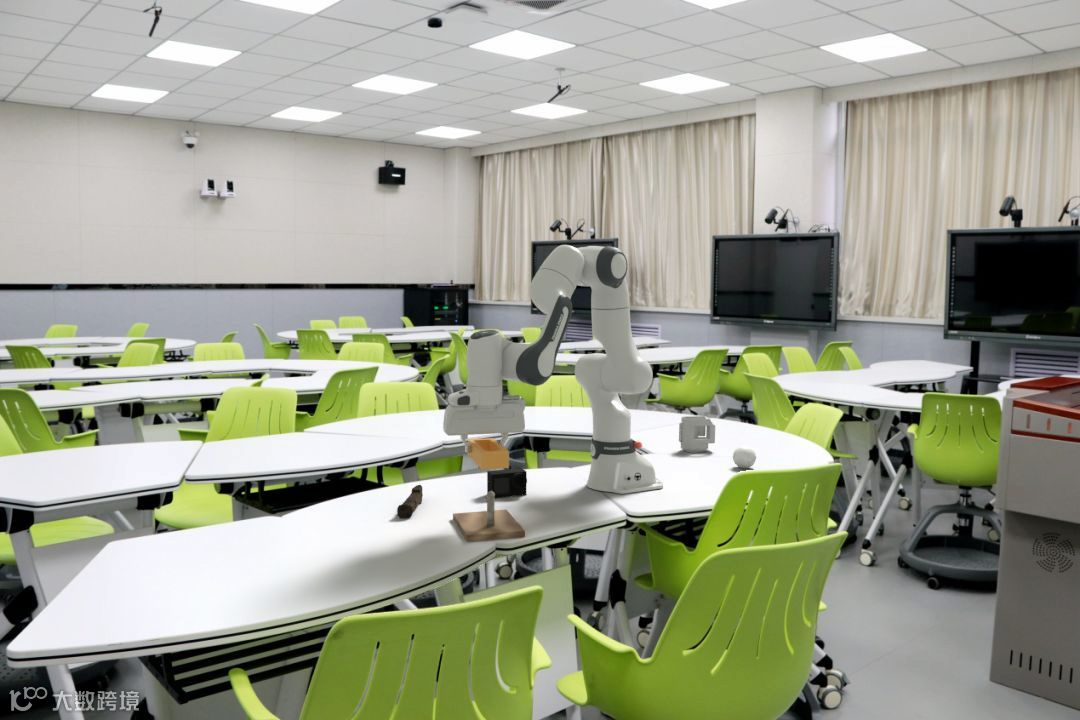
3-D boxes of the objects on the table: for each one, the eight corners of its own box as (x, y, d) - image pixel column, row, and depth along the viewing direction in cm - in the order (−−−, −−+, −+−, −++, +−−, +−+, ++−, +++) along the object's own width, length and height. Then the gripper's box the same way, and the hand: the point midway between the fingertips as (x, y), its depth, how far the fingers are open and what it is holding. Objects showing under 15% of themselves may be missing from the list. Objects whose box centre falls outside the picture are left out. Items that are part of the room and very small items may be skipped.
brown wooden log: (412, 520, 208) (412, 502, 208) (396, 519, 209) (396, 501, 208) (430, 499, 227) (430, 483, 227) (416, 499, 228) (416, 483, 227)
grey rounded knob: (756, 471, 262) (757, 448, 261) (732, 470, 263) (733, 447, 262) (754, 464, 271) (755, 442, 271) (731, 463, 273) (732, 441, 272)
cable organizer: (715, 452, 289) (716, 418, 288) (681, 453, 287) (682, 419, 286) (709, 448, 296) (710, 415, 294) (675, 449, 294) (676, 416, 293)
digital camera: (492, 499, 227) (493, 475, 226) (486, 494, 232) (486, 470, 231) (528, 496, 231) (528, 472, 230) (521, 491, 236) (521, 467, 235)
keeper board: (506, 515, 212) (506, 477, 211) (525, 536, 195) (525, 495, 194) (452, 519, 208) (452, 480, 207) (467, 541, 191) (467, 499, 190)
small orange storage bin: (493, 453, 209) (493, 438, 209) (508, 467, 194) (509, 451, 193) (467, 454, 207) (467, 439, 207) (481, 469, 192) (481, 452, 192)
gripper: (521, 393, 208) (521, 446, 210) (441, 395, 202) (442, 450, 204) (528, 396, 202) (528, 451, 204) (446, 399, 196) (446, 456, 198)
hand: (484, 451), depth 204 cm, fingers closed on small orange storage bin, 7 cm apart
